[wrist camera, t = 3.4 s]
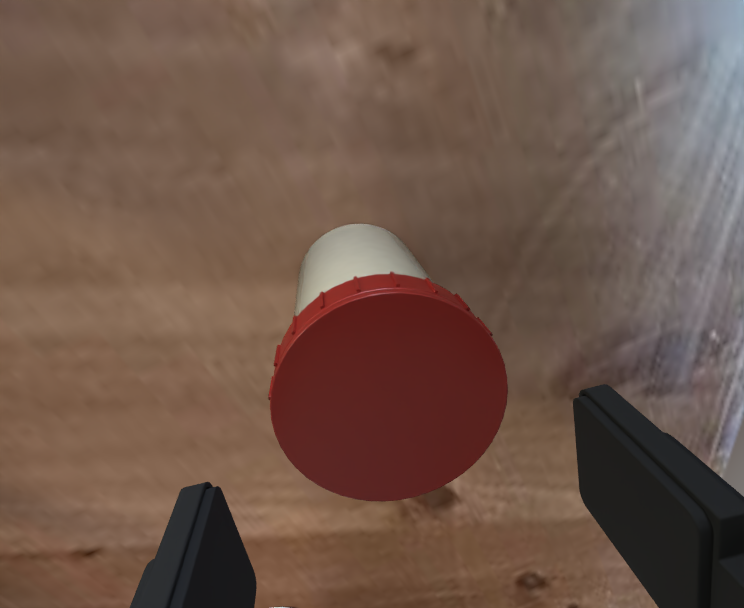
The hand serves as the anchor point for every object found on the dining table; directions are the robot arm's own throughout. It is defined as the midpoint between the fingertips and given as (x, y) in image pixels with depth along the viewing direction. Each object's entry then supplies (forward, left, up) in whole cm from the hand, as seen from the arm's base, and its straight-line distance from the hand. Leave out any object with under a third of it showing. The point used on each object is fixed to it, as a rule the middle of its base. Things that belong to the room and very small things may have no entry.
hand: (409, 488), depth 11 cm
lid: (0, 0, -3) cm, 3 cm away
